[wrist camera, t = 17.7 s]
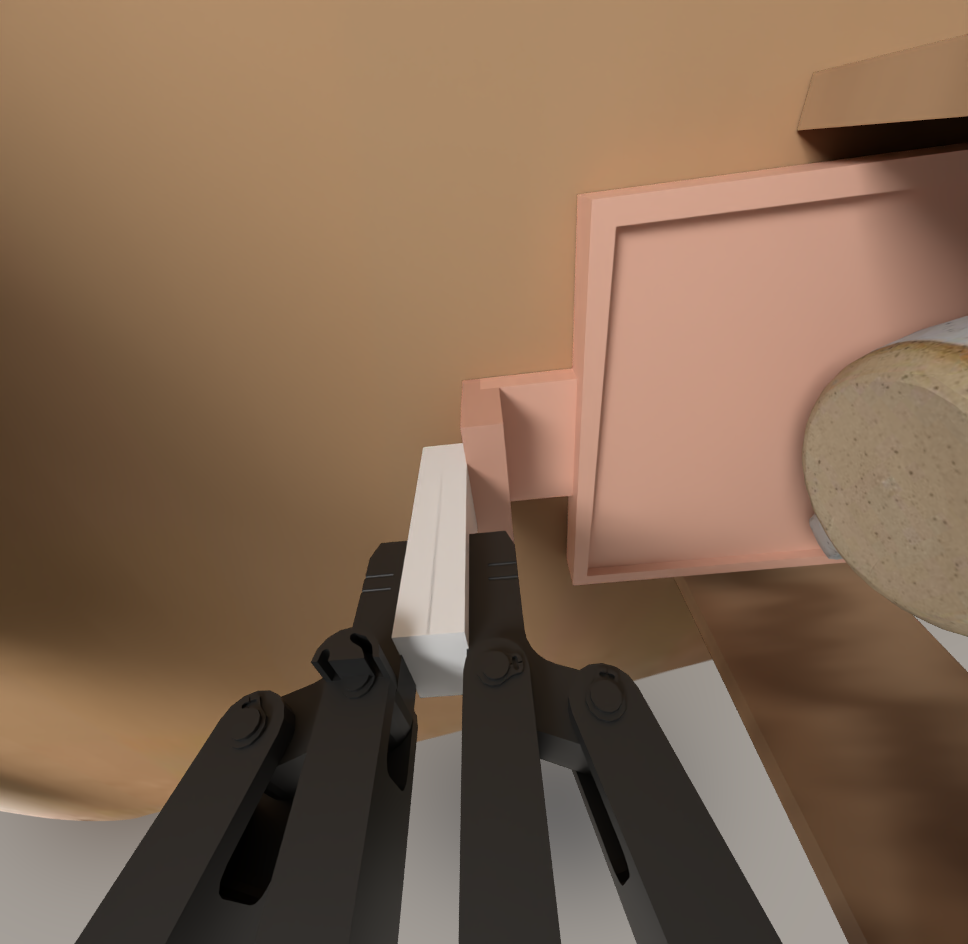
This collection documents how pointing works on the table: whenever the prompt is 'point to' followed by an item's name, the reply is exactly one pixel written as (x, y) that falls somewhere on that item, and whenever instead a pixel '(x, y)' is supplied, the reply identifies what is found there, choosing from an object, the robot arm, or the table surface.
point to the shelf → (857, 652)
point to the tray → (716, 357)
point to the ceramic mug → (898, 472)
